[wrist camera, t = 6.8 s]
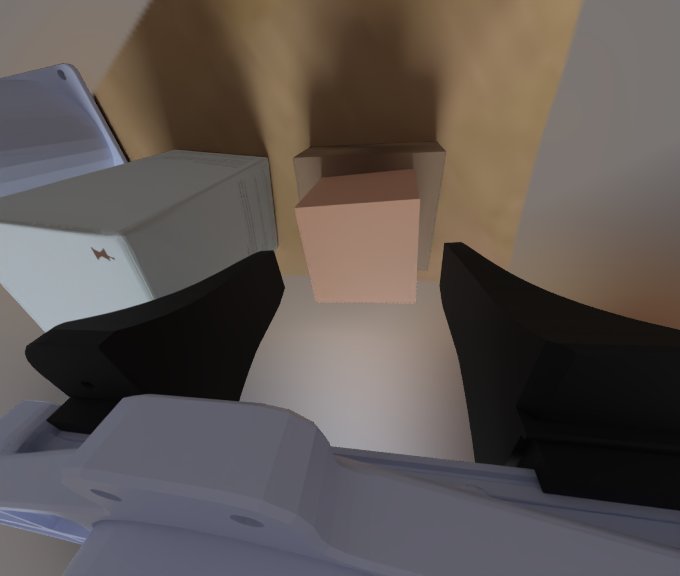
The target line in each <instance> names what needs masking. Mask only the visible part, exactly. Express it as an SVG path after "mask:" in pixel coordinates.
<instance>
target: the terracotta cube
mask: <svg viewBox="0 0 680 576" xmlns="http://www.w3.org/2000/svg"><path fill="white" fill-rule="evenodd" d="M294 209H295V214H296V218H297V222H298V227H299V231H300V235H301V240H302V244H303V248H304V253H305V257H306V261H307V266H308V270H309V274H310V279H311V283H312V287H313V291H314V296H315V300H316V302H333V303H335V302H336V303H343V302H344V303H415V299H416V280H417V258H418V236H419V214H420V196H419V191H418V187H417V182H416V178H415V174H414V169H406V170H395V171H385V172H375V173H365V174H354V175H344V176H334V177H324V178H321V179H320V180H319V181H318V182H317V183H316V184H315V186H314V187H313V188H312V189H311V190H310V191H309V192H308V193H307V194H306V196H305V197H304V198H303V199H302V200H301V201H300V202H299V203H298V204H297V206H296V207H295V208H294Z"/></svg>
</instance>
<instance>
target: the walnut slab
mask: <svg viewBox="0 0 680 576" xmlns="http://www.w3.org/2000/svg"><path fill="white" fill-rule="evenodd" d="M445 155H446V151H445V150H444V149H443V148H442V147H441V146H440V144H439V143H438V142H437V141H426V142H406V143H385V144H364V145H344V146H323V147H309V148H308V149H306V150H305V151H303V152H302V153H300V154H298V155H297V156H295V157H294V158H293V161H294V168H295V174H296V181H297V187H298V194H299V200H300V201H301V200H302V199H303V198H304V197H305V196H306V194H307V193H308V192H309V191H310V190H311V189H312V188H313V187H314V186H315V184H316V183H317V182H318V181H319V180H320V179H321V178H324V177H334V176H344V175H354V174H365V173H375V172H385V171H395V170H406V169H414V174H415V178H416V182H417V187H418V191H419V196H420V214H419V236H418V258H417V270H428V265H429V259H430V252H431V246H432V239H433V233H434V226H435V220H436V213H437V207H438V200H439V194H440V187H441V181H442V174H443V168H444V161H445Z"/></svg>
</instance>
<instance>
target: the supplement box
mask: <svg viewBox="0 0 680 576" xmlns="http://www.w3.org/2000/svg"><path fill="white" fill-rule="evenodd" d="M277 248H278V241H277V231H276V223H275V214H274V205H273V197H272V188H271V180H270V171H269V162H268V158H267V157H256V156H244V155H233V154H220V153H208V152H197V151H186V150H171V151H167V152H164V153H161V154H157V155H153V156H150V157H146V158H142V159H139V160H135V161H131V162H128V163H124V164H121V165H117V166H113V167H110V168H106V169H102V170H99V171H95V172H91V173H87V174H84V175H80V176H76V177H72V178H69V179H65V180H61V181H58V182H54V183H51V184H47V185H43V186H40V187H36V188H33V189H29V190H26V191H22V192H18V193H14V194H11V195H7V196H4V197H0V283H1V284H2V285H3V286H4V288H5V289H6V290H7V291H8V292H9V293H10V294H11V295H12V296H13V297H14V298H15V300H17V302H18V303H19V304H20V305H21V306H22V307H23V308H24V310H25V311H26V312H27V313H28V314H29V315H30V316H31V317H32V318H33V319H34V320H35V321H36V323H37V324H38V325H39V326H40V327H41V328H42V329H43V330H44V331H45V333H46V332H47V331H49V330H50V329H52V328H53V327H55V326H57V325H59V324H61V323H64V322H68V321H74V320H78V319H83V318H88V317H92V316H97V315H102V314H106V313H110V312H114V311H118V310H122V309H125V308H129V307H132V306H136V305H139V304H143V303H146V302H149V301H152V300H155V299H158V298H160V297H163V296H166V295H169V294H172V293H174V292H177V291H179V290H182V289H184V288H187V287H189V286H191V285H194V284H196V283H198V282H200V281H202V280H204V279H206V278H208V277H210V276H212V275H214V274H216V273H218V272H220V271H222V270H224V269H226V268H227V267H229V266H231V265H233V264H235V263H237V262H238V261H240V260H242V259H244V258H246V257H248V256H250V255H252V254H254V253H256V252H259V251H268V250H274V252H275V251H276V250H277Z"/></svg>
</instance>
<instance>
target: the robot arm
mask: <svg viewBox="0 0 680 576" xmlns="http://www.w3.org/2000/svg"><path fill="white" fill-rule="evenodd" d="M64 74H65V76H66V77H65V76H64ZM124 163H128V162H127V160H126V158H125V156H124V154H123V152H122V151H121V149H120V147H119V145H118V143H117V141H116V139H115V138H114V136H113V134H112V132H111V130H110V128H109V127H108V125H107V123H106V121H105V119H104V117H103V116H102V114H101V112H100V110H99V108H98V106H97V104H96V103H95V101H94V99H93V97H92V95H91V93H90V92H89V90H88V88H87V86H86V84H85V82H84V81H83V79H82V77H81V75H80V73H79V72H78V70H77V69H76V68H75V67H74V66H73V65H71V64H64V63H63V64H58V65H54V66H50V67H46V68H41V69H38V70H33V71H29V72H25V73H21V74H16V75H12V76H8V77H4V78H0V197H4V196H7V195H11V194H14V193H18V192H22V191H26V190H29V189H33V188H36V187H40V186H43V185H47V184H51V183H54V182H58V181H61V180H65V179H69V178H72V177H76V176H80V175H84V174H87V173H91V172H95V171H99V170H102V169H106V168H110V167H113V166H117V165H121V164H124ZM284 289H285V286H284V283H283V280H282V276H281V273H280V270H279V266H278V263H277V260H276V257H275V253H274V250H268V251H259V252H256V253H254V254H252V255H250V256H248V257H246V258H244V259H242V260H240V261H238V262H237V263H235V264H233V265H231V266H229V267H227V268H226V269H224V270H222V271H220V272H218V273H216V274H214V275H212V276H210V277H208V278H206V279H204V280H202V281H200V282H198V283H196V284H194V285H191V286H189V287H187V288H184V289H182V290H179V291H177V292H174V293H172V294H169V295H166V296H163V297H160V298H158V299H155V300H152V301H149V302H146V303H143V304H139V305H136V306H132V307H129V308H125V309H122V310H118V311H114V312H110V313H106V314H102V315H97V316H92V317H88V318H83V319H78V320H74V321H68V322H64V323H61V324H59V325H57V326H55V327H53V328H52V329H50V330H49V331H47V332H46V333H45V334H43V335H42V336H40V337H39V338H37V339H36V340H34V341H33V342H32V343H30V344H29V345H27V346H26V350H25V355H26V358H27V360H28V362H30V364H31V365H32V366H33V367H34V368H35V369H36V370H37V371H38V372H39V373H40V374H41V375H43V376H44V377H45V378H46V379H48V380H49V381H50V382H51V383H53V384H54V385H55V386H56V387H58V388H59V389H60V390H61V391H63V392H64V393H65V394H66V395H68V396H69V397H70V398H69V399H68V400H67V401H66V402H65V403H64V404H63V405H62V406H60V405H58V404H56V403H52V402H47V401H36V400H22V401H21V402H20V403H19V404H18V405H16V406H15V407H14V408H13V409H12V410H10V411H9V412H8V413H7V414H6V415H4V416H3V417H2V418H1V419H0V524H3V525H8V526H12V527H16V528H20V529H24V530H28V531H33V532H36V533H40V534H44V535H48V536H52V537H56V538H59V539H63V540H67V541H71V542H75V543H79V544H82V546H81V548H80V549H79V550H78V552H77V553H76V555H75V556H74V558H73V559H72V560H71V562H70V563H69V565H68V566H67V568H66V569H65V571H64V572H63V574H62V575H61V576H680V330H678V329H673V328H669V327H665V326H660V325H656V324H652V323H648V322H643V321H639V320H635V319H631V318H627V317H624V316H621V315H617V314H614V313H610V312H607V311H603V310H600V309H597V308H594V307H590V306H587V305H584V304H581V303H578V302H576V301H573V300H570V299H567V298H565V297H562V296H559V295H556V294H554V293H551V292H549V291H547V290H544V289H542V288H540V287H537V286H535V285H533V284H531V283H529V282H527V281H524V280H523V279H520V278H518V277H517V276H515V275H513V274H511V273H509V272H508V271H506V270H504V269H502V268H501V267H499V266H497V265H496V264H494V263H493V262H491V261H489V260H488V259H486V258H485V257H483V256H482V255H480V254H479V253H477V252H476V251H474V250H473V249H471V248H470V247H468V246H467V245H465V244H464V243H462V242H455V243H444V251H443V260H442V269H441V278H440V292H441V299H442V304H443V309H444V312H445V316H446V319H447V322H448V325H449V329H450V331H451V335H452V338H453V341H454V345H455V348H456V351H457V355H458V359H459V363H460V369H461V374H462V380H463V385H464V391H465V397H466V403H467V409H468V415H469V422H470V429H471V435H472V442H473V450H474V457H475V463H473V462H464V461H454V460H446V459H437V458H428V457H420V456H411V455H402V454H393V453H384V452H376V451H367V450H358V449H350V448H341V447H332V446H330V444H329V442H328V440H327V439H326V437H325V436H324V435H323V433H322V432H321V431H320V430H319V428H318V427H317V426H316V425H315V424H314V422H312V421H310V420H308V419H306V418H304V417H303V416H301V415H299V414H297V413H295V412H293V411H291V410H289V409H285V408H280V407H276V406H271V405H267V404H262V403H252V402H240V401H239V400H240V396H241V393H242V390H243V387H244V384H245V381H246V378H247V375H248V372H249V369H250V366H251V364H252V361H253V359H254V356H255V353H256V351H257V349H258V347H259V344H260V342H261V340H262V338H263V337H264V335H265V333H266V331H267V329H268V327H269V325H270V323H271V321H272V319H273V317H274V315H275V313H276V311H277V309H278V307H279V305H280V302H281V299H282V296H283V292H284Z"/></svg>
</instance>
